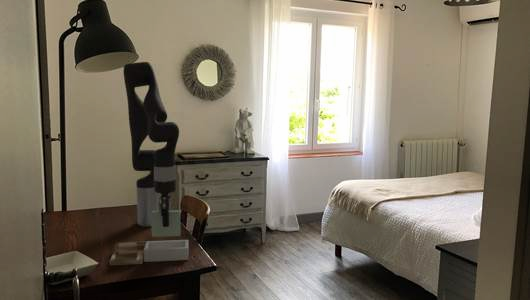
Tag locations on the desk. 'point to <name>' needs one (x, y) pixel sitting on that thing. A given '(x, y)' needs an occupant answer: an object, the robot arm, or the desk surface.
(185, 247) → the bin
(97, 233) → the desk surface
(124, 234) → the desk surface
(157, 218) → the sheet
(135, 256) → the offcut low
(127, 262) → the rack
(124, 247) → the offcut top
